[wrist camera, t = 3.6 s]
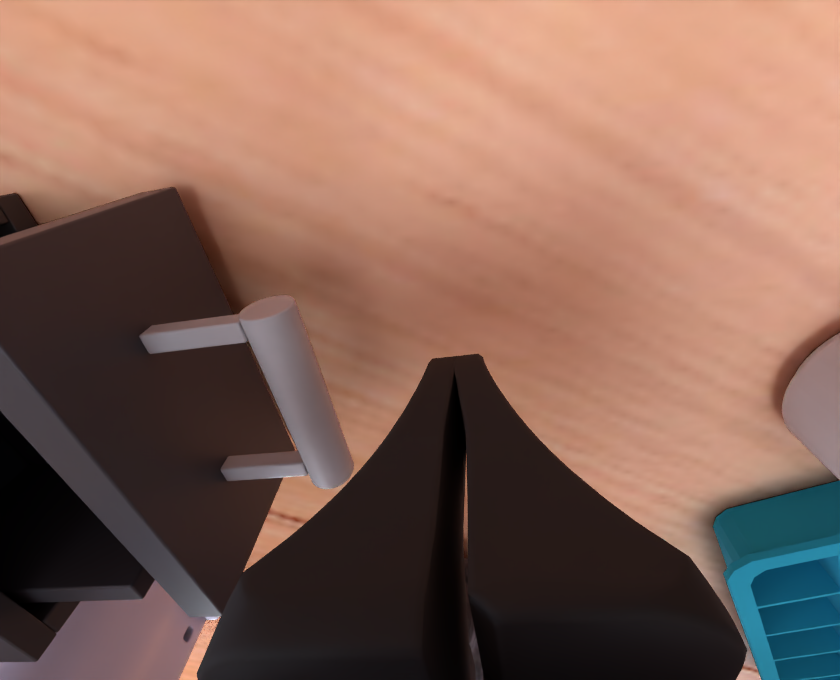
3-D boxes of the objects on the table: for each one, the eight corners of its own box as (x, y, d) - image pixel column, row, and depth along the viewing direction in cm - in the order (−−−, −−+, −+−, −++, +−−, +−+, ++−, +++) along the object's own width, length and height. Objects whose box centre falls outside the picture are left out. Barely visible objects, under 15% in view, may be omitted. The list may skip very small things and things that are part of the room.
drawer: (305, 162, 12) (168, 228, 6) (386, 442, 17) (357, 614, 12) (-149, 244, 14) (-576, 351, 8) (55, 469, 20) (-108, 624, 14)
